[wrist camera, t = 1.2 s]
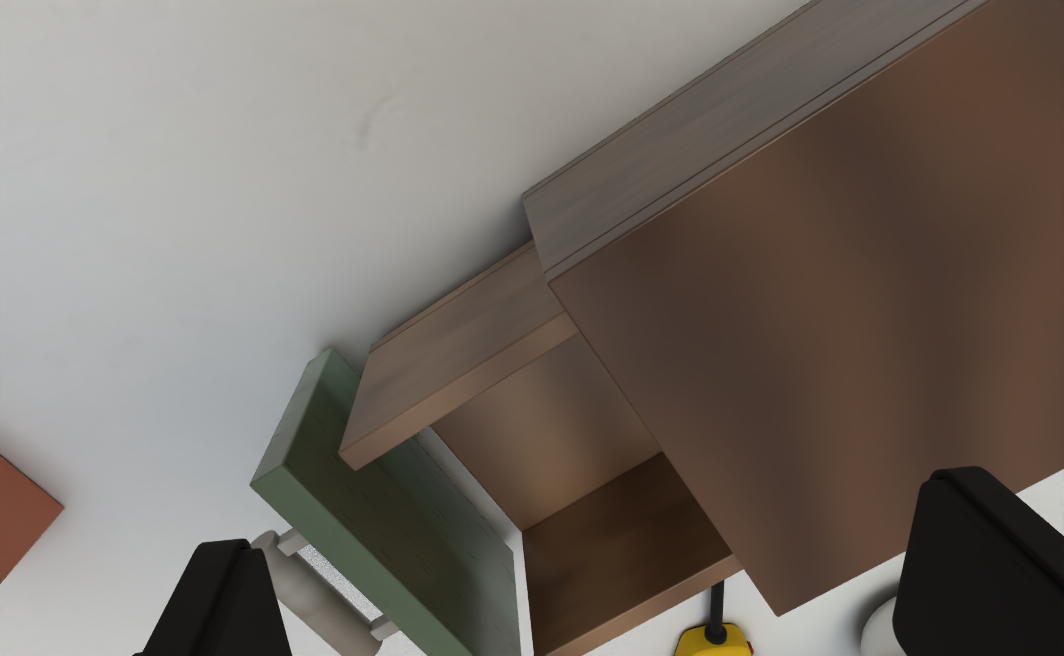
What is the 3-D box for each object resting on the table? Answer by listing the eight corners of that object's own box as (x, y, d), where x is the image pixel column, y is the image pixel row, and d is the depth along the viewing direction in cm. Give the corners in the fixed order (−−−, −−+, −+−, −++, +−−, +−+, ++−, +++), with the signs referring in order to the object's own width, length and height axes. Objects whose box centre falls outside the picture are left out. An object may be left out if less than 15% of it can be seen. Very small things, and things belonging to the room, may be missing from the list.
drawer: (412, 609, 32) (396, 777, 25) (220, 419, 27) (131, 560, 20) (757, 411, 29) (851, 536, 22) (609, 162, 24) (667, 219, 17)
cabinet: (689, 448, 31) (777, 618, 22) (520, 195, 25) (546, 283, 17) (1000, 270, 28) (1238, 379, 20) (882, -48, 23) (1134, -93, 14)
